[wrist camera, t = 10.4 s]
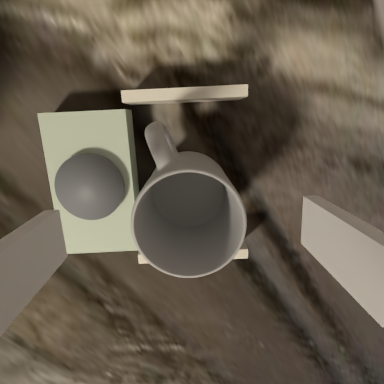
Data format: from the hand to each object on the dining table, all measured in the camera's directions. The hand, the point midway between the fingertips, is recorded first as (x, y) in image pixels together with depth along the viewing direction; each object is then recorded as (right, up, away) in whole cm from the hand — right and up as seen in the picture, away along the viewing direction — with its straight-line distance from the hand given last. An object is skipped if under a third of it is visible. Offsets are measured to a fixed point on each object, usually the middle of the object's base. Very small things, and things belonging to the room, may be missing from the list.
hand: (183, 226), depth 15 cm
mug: (-1, +4, +15) cm, 16 cm away
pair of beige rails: (-4, +4, +15) cm, 16 cm away
